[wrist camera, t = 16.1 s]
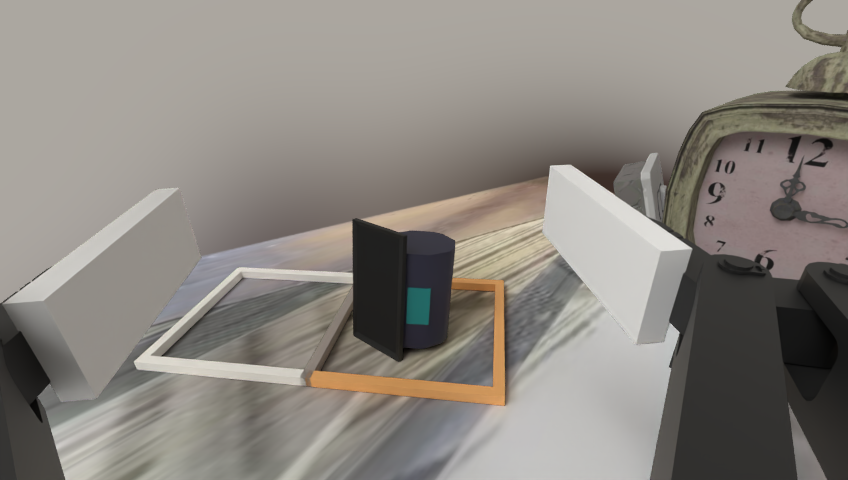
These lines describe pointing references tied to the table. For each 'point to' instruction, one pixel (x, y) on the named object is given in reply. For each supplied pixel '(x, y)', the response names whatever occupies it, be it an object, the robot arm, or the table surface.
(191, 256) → the robot arm
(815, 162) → the tabletop clock
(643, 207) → the electrical switch
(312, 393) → the table surface
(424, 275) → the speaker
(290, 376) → the rectangular frame
